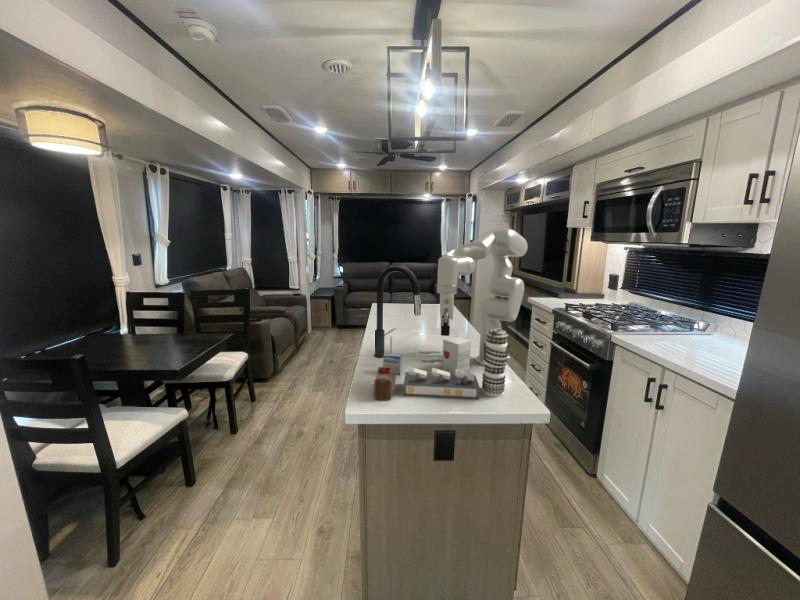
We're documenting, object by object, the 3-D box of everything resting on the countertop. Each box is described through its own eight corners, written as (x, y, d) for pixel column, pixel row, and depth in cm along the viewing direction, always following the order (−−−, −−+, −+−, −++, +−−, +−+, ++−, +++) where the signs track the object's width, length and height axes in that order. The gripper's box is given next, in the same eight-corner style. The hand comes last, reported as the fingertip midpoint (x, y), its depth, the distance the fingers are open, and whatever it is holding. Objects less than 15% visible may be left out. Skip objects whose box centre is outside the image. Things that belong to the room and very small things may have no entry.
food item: (376, 384, 130) (376, 361, 128) (395, 384, 130) (396, 361, 128) (373, 400, 117) (372, 375, 115) (394, 401, 117) (395, 375, 115)
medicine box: (382, 374, 139) (382, 355, 138) (384, 370, 144) (384, 352, 142) (400, 375, 138) (400, 356, 137) (401, 371, 143) (402, 353, 141)
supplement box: (441, 370, 144) (442, 338, 141) (454, 365, 150) (455, 335, 147) (456, 377, 137) (458, 344, 135) (469, 372, 143) (471, 340, 140)
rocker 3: (472, 377, 124) (473, 373, 124) (473, 381, 121) (474, 377, 120) (454, 372, 125) (455, 368, 124) (455, 375, 121) (456, 372, 121)
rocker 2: (448, 375, 125) (449, 372, 125) (449, 379, 122) (450, 376, 121) (431, 371, 125) (432, 367, 125) (431, 374, 122) (432, 371, 122)
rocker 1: (425, 374, 126) (426, 371, 126) (425, 378, 122) (426, 375, 122) (408, 369, 126) (409, 366, 126) (408, 373, 123) (409, 370, 122)
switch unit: (474, 387, 128) (475, 369, 127) (478, 399, 118) (479, 380, 117) (405, 383, 131) (405, 366, 129) (403, 395, 121) (403, 376, 119)
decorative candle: (486, 384, 131) (490, 325, 126) (508, 390, 125) (513, 329, 121) (476, 391, 124) (480, 330, 120) (499, 399, 118) (504, 335, 114)
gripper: (457, 292, 114) (455, 339, 117) (455, 286, 131) (453, 326, 134) (436, 292, 115) (434, 337, 118) (437, 285, 132) (435, 325, 135)
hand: (444, 332), depth 126 cm, fingers open, 9 cm apart
